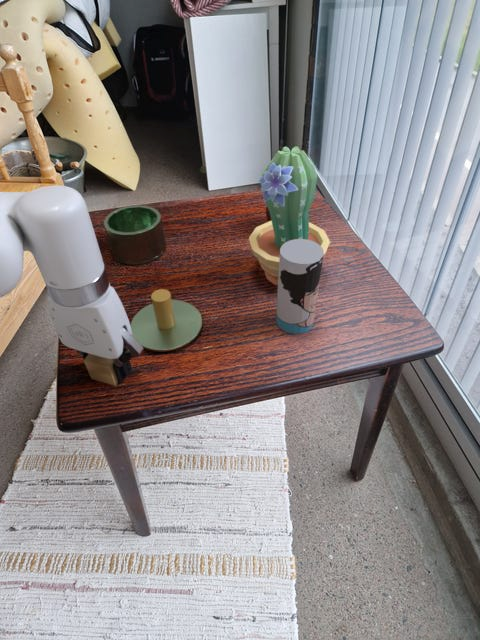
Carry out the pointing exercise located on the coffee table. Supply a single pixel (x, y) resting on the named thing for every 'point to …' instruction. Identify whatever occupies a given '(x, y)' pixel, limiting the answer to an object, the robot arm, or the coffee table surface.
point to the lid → (166, 323)
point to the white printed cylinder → (298, 285)
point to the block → (101, 369)
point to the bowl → (135, 234)
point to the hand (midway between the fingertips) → (110, 370)
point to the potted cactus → (286, 208)
